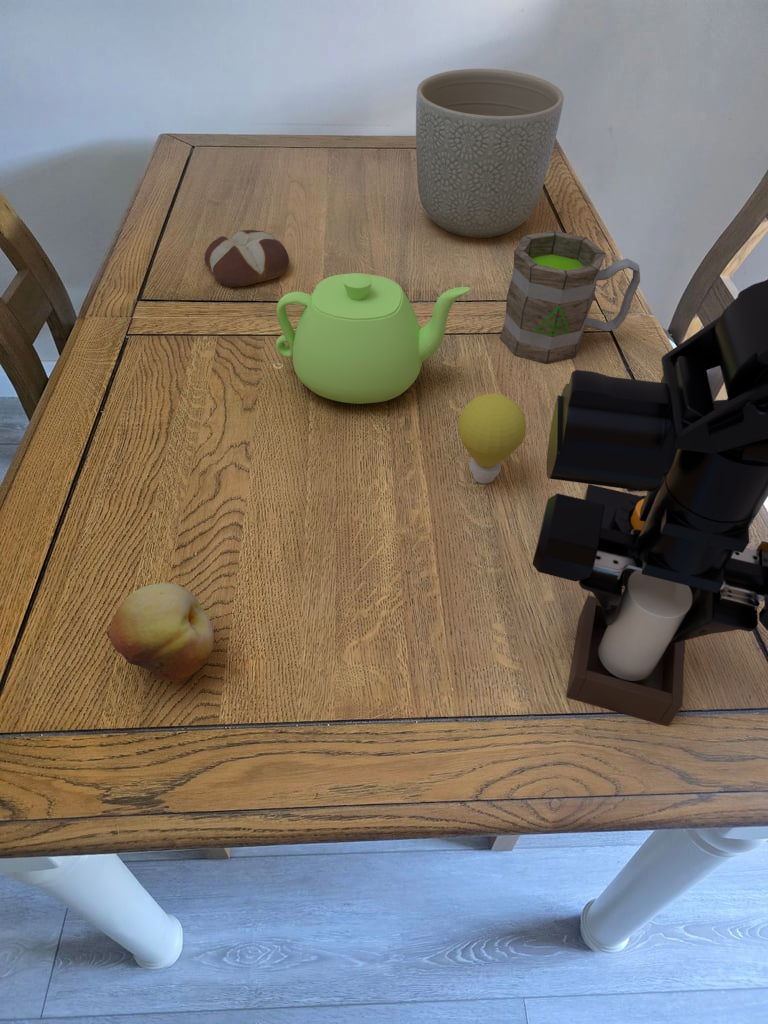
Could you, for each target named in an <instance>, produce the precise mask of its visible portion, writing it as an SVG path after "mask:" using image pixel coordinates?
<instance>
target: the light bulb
mask: <svg viewBox="0 0 768 1024" xmlns="http://www.w3.org/2000/svg"><path fill="white" fill-rule="evenodd" d="M526 422H527V421H526V417H525V414H524V412H523V410H522V408H521V407H520V406H519V404H518V403H517V402H515V400H514V399H512V398H511V397H508V396H506V395H504V394H500V393H493V392H492V393H491V392H490V393H485V394H482V395H479V396H476V397H474V398H473V399H472V400H471V401H469V402H468V403H467V404H466V405H465V407H464V408H463V409H462V412H461V413H460V416H459V417H458V422H457V433H458V436H459V439H460V440H461V442H462V444H463V447H464V448H465V450H466V452H467V453H468V454H469V456H470V460H469V470H470V472H471V473H472V477H473V480H474V481H476V483H479V484H485V485H486V484H490V483H492V482H493V481H494V480H495V478H496V477H497V476H498V475H499V474H500V472H501V468H502V462H503V461H505V460H507V459H508V457H510V456H511V455H512V454H513V452H515V451H516V450H517V449H518V448H519V447H520V446H521V445H522V444H523V442H524V439H525V436H526V434H527V425H526Z"/></svg>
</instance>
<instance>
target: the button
mask: <svg viewBox="0 0 768 1024" xmlns="http://www.w3.org/2000/svg"><path fill="white" fill-rule="evenodd" d="M643 502H644V499H642V500H640V501H639V502H638V503H637V505H636V507H635V509H634V512H633V514H632V517H631V524H632V527H633V528H634V529H637V530H642V528H643V526H644V523H645V522H644V521H640V520H639V519H640V509H641V506H642V504H643Z"/></svg>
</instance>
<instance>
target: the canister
mask: <svg viewBox="0 0 768 1024" xmlns="http://www.w3.org/2000/svg"><path fill="white" fill-rule="evenodd" d="M692 601H693V598H692V592H691V590H690V588H689V586H687V585H683V584H679V583H675V582H671V581H667V580H663V579H659V578H655V577H651V576H647V575H643V574H642V572H641V571H637V570H636V571H635V572H633V573H632V574H631V576H630V577H629V579H628V581H627V584H626V586H625V585H624V588H623V589H622V596H621V599H620V603H619V607H618V610H617V614H616V618H615V621H614V622H613V623H612V624H611V625H608V626H607V628H606V630H605V633H604V635H603V637H602V639H601V641H600V644H599V647H598V654H599V658H600V660H601V662H602V664H603V665H604V667H605V668H606V669H607V670H608V671H609V672H610V673H612V674H613V675H615V676H616V677H618V678H621V679H624V680H628V681H639V680H643V679H645V678H647V677H648V676H650V675H651V674H652V672H653V671H654V669H655V667H656V666H657V664H658V662H659V661H660V659H661V657H662V655H663V654H664V652H665V650H666V649H667V647H668V645H669V643H670V642H671V640H672V638H673V637H674V635H675V633H676V632H677V630H678V628H679V626H680V625H681V623H682V621H683V620H684V618H685V616H686V614H687V613H688V611H689V609H690V608H691V605H692Z"/></svg>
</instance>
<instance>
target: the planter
mask: <svg viewBox="0 0 768 1024" xmlns="http://www.w3.org/2000/svg"><path fill="white" fill-rule="evenodd" d="M416 88H417V89H416V98H415V145H416V146H415V147H416V149H415V150H416V174H417V175H416V176H417V187H418V195H419V199H420V202H421V205H422V208H423V210H424V212H426V214H427V215H428V217H429V218H430V219H431V220H432V221H433V222H434V223H435V224H436V225H438V227H440V228H442V229H443V230H445V231H446V232H449V233H452V234H453V235H456V236H460V237H465V238H473V239H487V238H494V237H499V236H502V235H505V234H507V233H510V232H512V231H513V230H515V229H516V228H518V227H520V226H521V225H522V224H523V223H525V222H526V221H527V220H528V219H529V218H530V216H531V215H532V214H533V213H534V211H535V209H536V207H537V205H538V203H539V200H540V197H541V194H542V191H543V189H544V188H543V187H544V184H545V182H546V178H547V173H548V170H549V165H550V162H551V159H552V155H553V150H554V148H555V147H554V146H555V144H556V139H557V134H558V129H559V125H560V120H561V117H562V111H563V105H564V100H565V97H564V94H563V91H562V90H561V89H560V88H559V87H558V86H557V85H556V84H554V83H552V82H550V81H548V80H546V79H543V78H541V77H538V76H535V75H532V74H529V73H524V72H519V71H515V70H508V69H507V70H506V69H497V68H496V69H495V68H461V69H455V70H448V71H443V72H439V73H436V74H433V75H430V76H427V77H426V78H425V79H423V80H422V81H420V83H419V84H418V85H417V87H416Z"/></svg>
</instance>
